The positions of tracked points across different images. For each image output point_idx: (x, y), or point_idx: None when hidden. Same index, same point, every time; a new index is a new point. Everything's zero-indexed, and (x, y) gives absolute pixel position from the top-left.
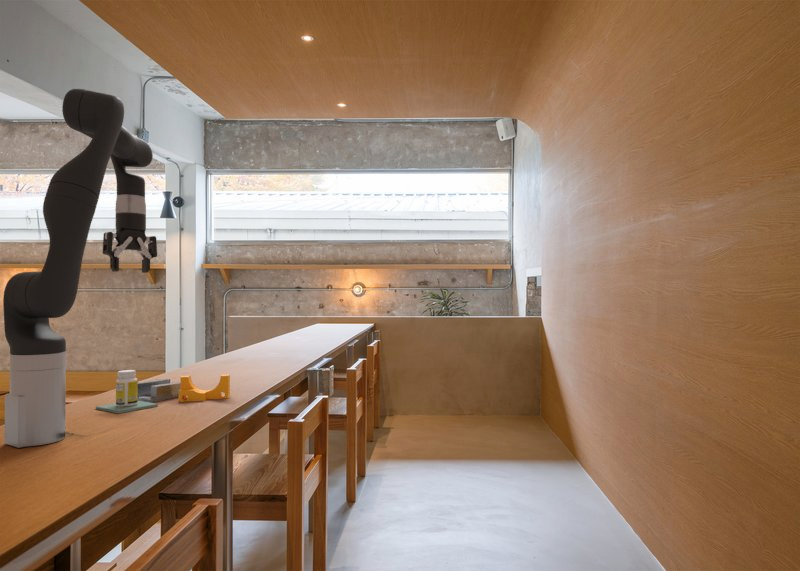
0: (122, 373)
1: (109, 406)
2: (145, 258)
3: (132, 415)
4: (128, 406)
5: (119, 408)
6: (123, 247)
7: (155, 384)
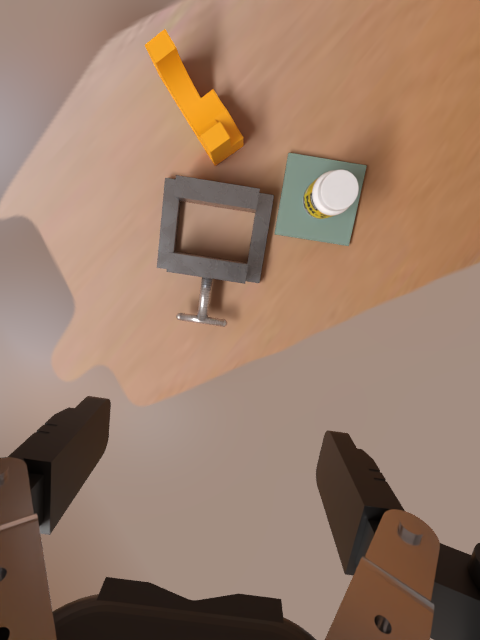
0: (356, 182)
1: (340, 221)
2: (36, 495)
3: (369, 124)
4: None
5: None
6: (380, 601)
7: (205, 257)
